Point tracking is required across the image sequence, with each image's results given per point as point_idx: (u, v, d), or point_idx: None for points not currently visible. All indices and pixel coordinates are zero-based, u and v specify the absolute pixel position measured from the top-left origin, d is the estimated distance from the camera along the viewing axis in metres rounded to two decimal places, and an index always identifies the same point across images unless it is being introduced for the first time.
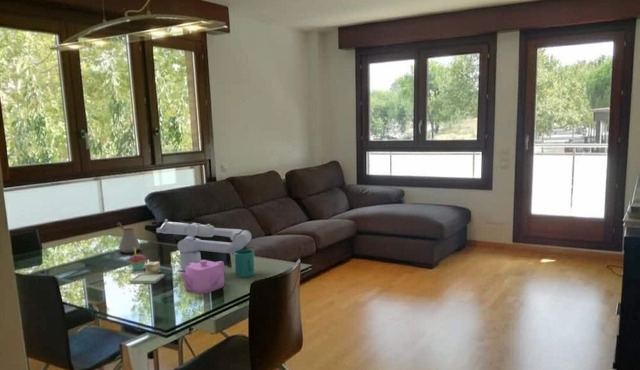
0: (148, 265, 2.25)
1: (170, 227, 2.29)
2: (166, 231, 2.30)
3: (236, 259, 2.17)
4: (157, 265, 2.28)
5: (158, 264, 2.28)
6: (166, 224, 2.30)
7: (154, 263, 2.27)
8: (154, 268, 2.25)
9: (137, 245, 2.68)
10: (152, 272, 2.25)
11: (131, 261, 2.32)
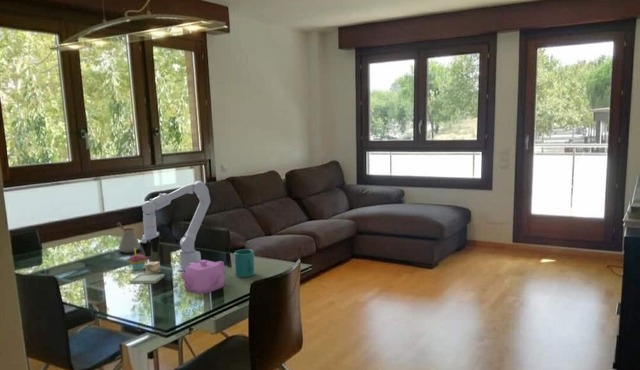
0: (148, 265, 2.25)
1: (146, 230, 2.23)
2: (151, 234, 2.23)
3: (236, 259, 2.17)
4: (157, 265, 2.28)
5: (158, 264, 2.28)
6: (144, 234, 2.24)
7: (154, 263, 2.27)
8: (154, 268, 2.25)
9: (137, 245, 2.68)
10: (152, 272, 2.25)
11: (131, 261, 2.32)
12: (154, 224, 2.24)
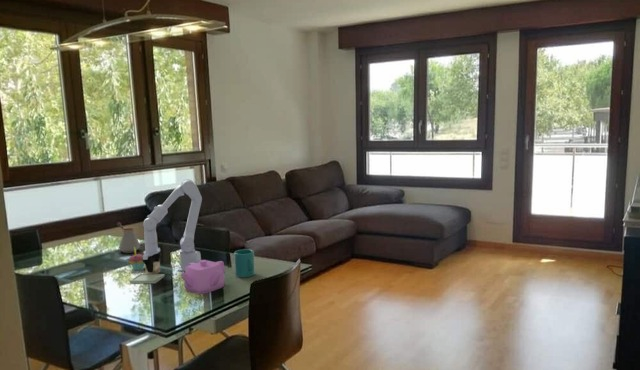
0: None
1: (147, 247, 2.24)
2: (152, 250, 2.24)
3: (236, 259, 2.17)
4: (157, 265, 2.28)
5: (158, 264, 2.28)
6: (145, 251, 2.25)
7: (154, 263, 2.27)
8: (154, 268, 2.25)
9: (137, 245, 2.68)
10: (152, 272, 2.25)
11: (131, 261, 2.32)
12: (155, 240, 2.25)
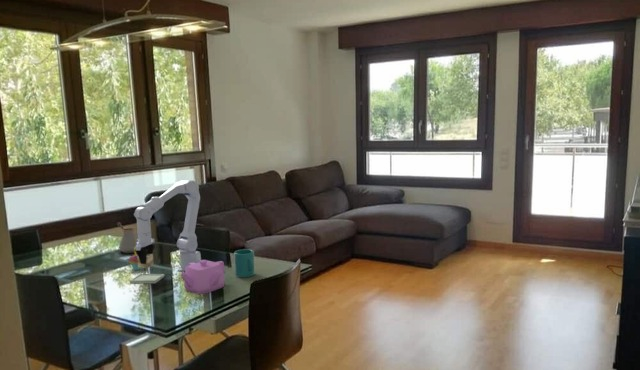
0: None
1: (140, 237, 2.13)
2: (145, 241, 2.13)
3: (236, 259, 2.17)
4: (150, 257, 2.17)
5: (151, 256, 2.17)
6: (138, 241, 2.14)
7: (147, 255, 2.16)
8: (147, 260, 2.14)
9: None
10: (145, 265, 2.15)
11: (131, 261, 2.32)
12: (150, 230, 2.15)
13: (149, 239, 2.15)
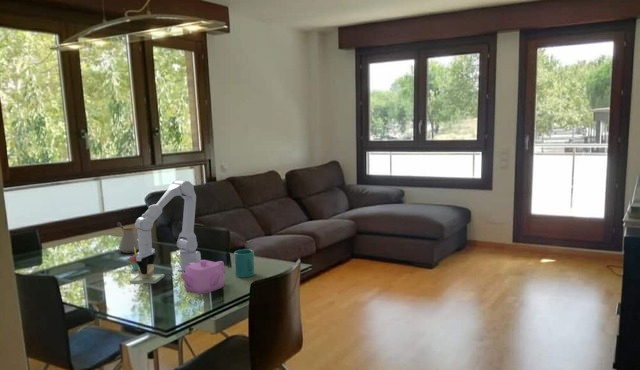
0: None
1: (140, 247, 2.13)
2: (146, 251, 2.14)
3: (236, 259, 2.17)
4: (151, 267, 2.17)
5: (152, 267, 2.18)
6: (139, 252, 2.14)
7: (147, 265, 2.16)
8: (147, 271, 2.15)
9: (137, 245, 2.68)
10: (145, 275, 2.15)
11: (131, 261, 2.32)
12: (151, 240, 2.16)
13: (150, 249, 2.15)
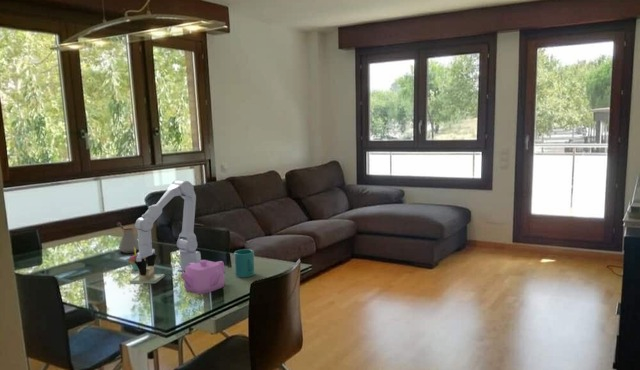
0: None
1: (140, 248, 2.13)
2: (146, 252, 2.14)
3: (236, 259, 2.17)
4: (151, 269, 2.17)
5: (152, 268, 2.18)
6: (139, 252, 2.15)
7: (148, 267, 2.17)
8: (148, 273, 2.15)
9: (137, 245, 2.68)
10: (146, 277, 2.15)
11: (131, 261, 2.32)
12: (151, 241, 2.16)
13: (150, 250, 2.15)
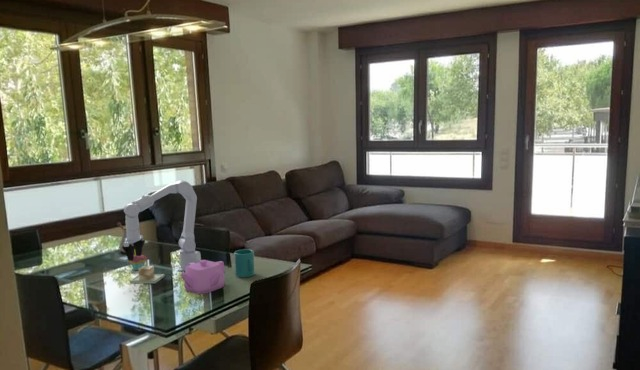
0: (141, 269, 2.15)
1: (128, 233, 2.16)
2: (133, 237, 2.17)
3: (236, 259, 2.17)
4: (151, 269, 2.17)
5: (152, 268, 2.18)
6: (127, 238, 2.17)
7: (148, 267, 2.17)
8: (148, 273, 2.15)
9: None
10: (146, 277, 2.15)
11: (131, 261, 2.32)
12: (138, 227, 2.18)
13: (137, 235, 2.18)
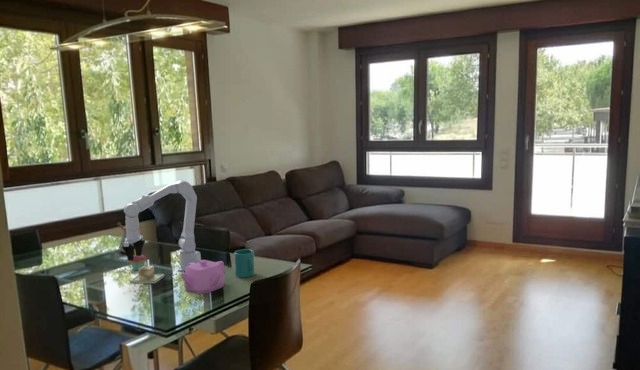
0: (141, 269, 2.15)
1: (128, 233, 2.16)
2: (133, 237, 2.17)
3: (236, 259, 2.17)
4: (151, 269, 2.17)
5: (152, 268, 2.18)
6: (127, 238, 2.17)
7: (148, 267, 2.17)
8: (148, 273, 2.15)
9: None
10: (146, 277, 2.15)
11: (131, 261, 2.32)
12: (138, 227, 2.18)
13: (137, 235, 2.18)
